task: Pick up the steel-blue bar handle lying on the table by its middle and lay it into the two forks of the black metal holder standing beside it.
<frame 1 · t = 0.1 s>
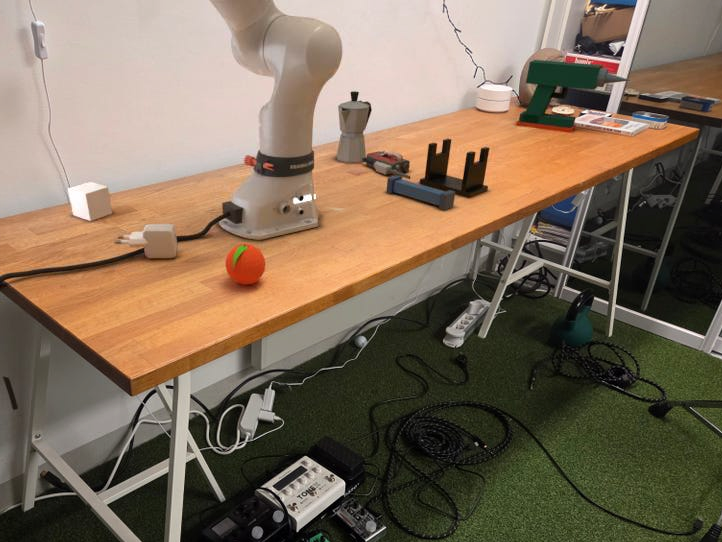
coffee maker: (353, 159, 175), on the table
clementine: (245, 284, 107), on the table
power tool: (565, 129, 208), on the table
handle: (418, 199, 145), on the table
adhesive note: (93, 215, 135), on the table
walkie-talkie: (391, 172, 164), on the table
holder: (452, 187, 153), on the table
power adapter: (148, 256, 117), on the table
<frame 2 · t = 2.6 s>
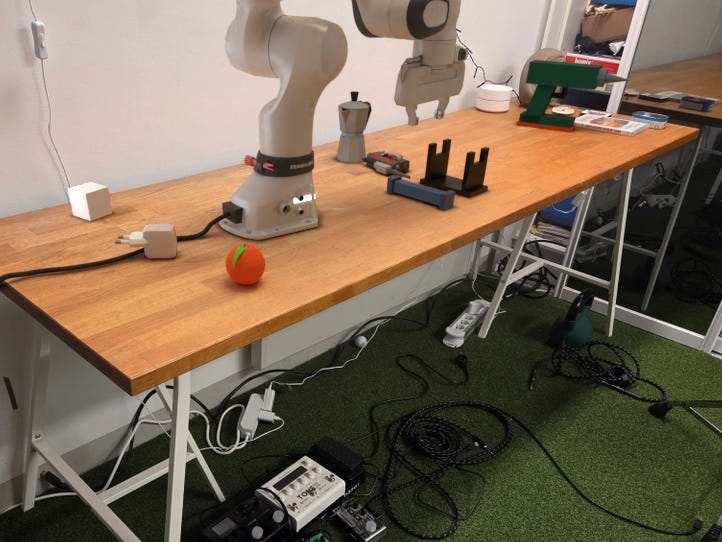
hand: (426, 122, 136), 18 cm above the table, tool pointing down, fingers open, 8 cm apart
nothing on the table moved.
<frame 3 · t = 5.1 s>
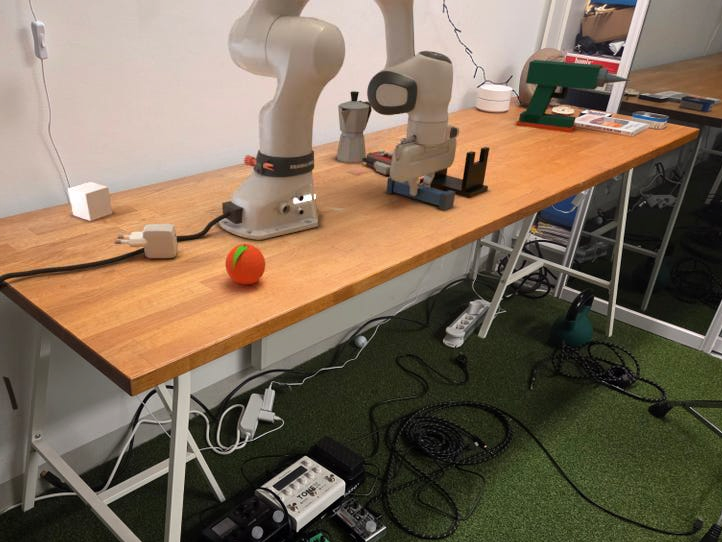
hand: (419, 192, 145), 2 cm above the table, tool pointing down, fingers closed on handle, 2 cm apart
handle: (418, 199, 145), on the table, touching gripper
everything else where it was.
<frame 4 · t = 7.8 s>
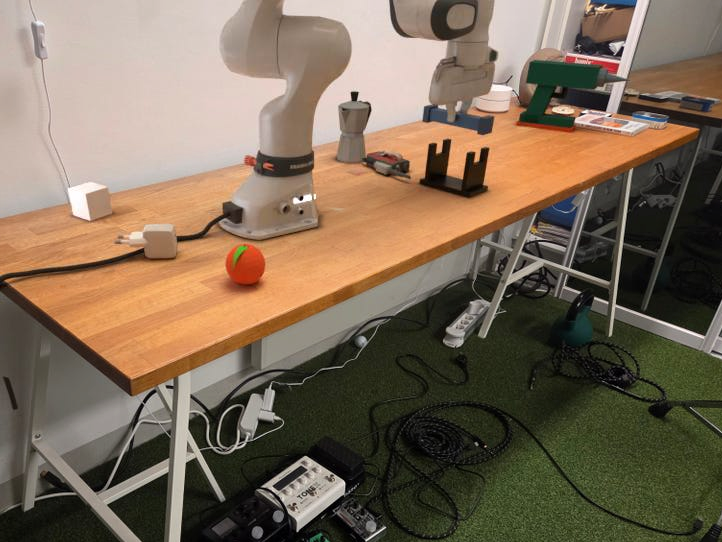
hand: (456, 120, 143), 17 cm above the table, tool pointing down, fingers closed on handle, 2 cm apart
handle: (456, 127, 144), point 15 cm above the table, touching gripper
everything else where it was.
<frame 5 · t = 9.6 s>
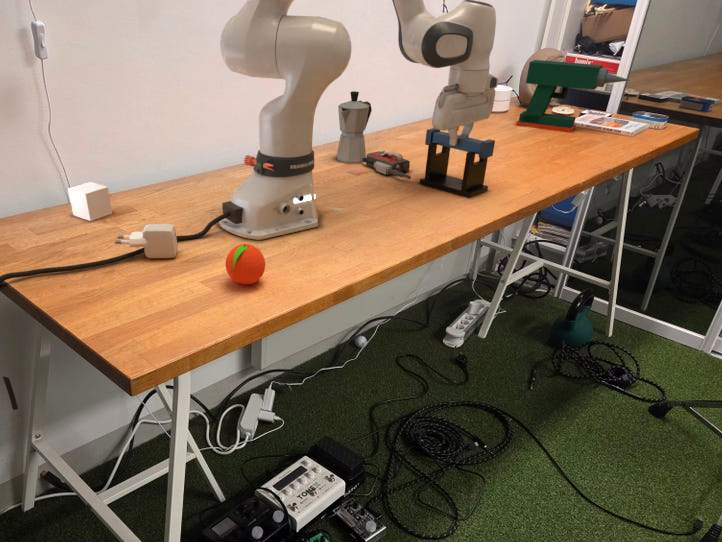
hand: (458, 143, 148), 11 cm above the table, tool pointing down, fingers closed on handle, 2 cm apart
handle: (457, 150, 149), point 9 cm above the table, touching gripper
everything else where it was.
when the fingers open (8 cm above the table, at t = 10.6 s): handle stays where it is, resting on holder.
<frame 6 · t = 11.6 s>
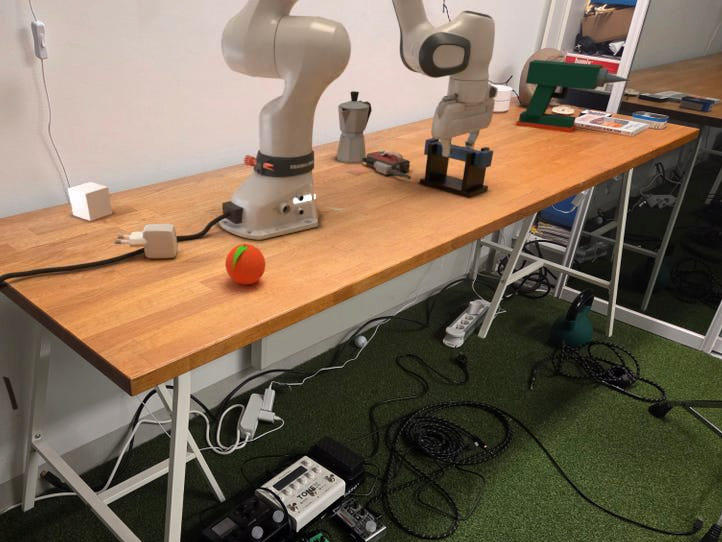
hand: (458, 152, 149), 9 cm above the table, tool pointing down, fingers open, 8 cm apart
handle: (456, 160, 150), point 7 cm above the table, touching holder
everything else where it was.
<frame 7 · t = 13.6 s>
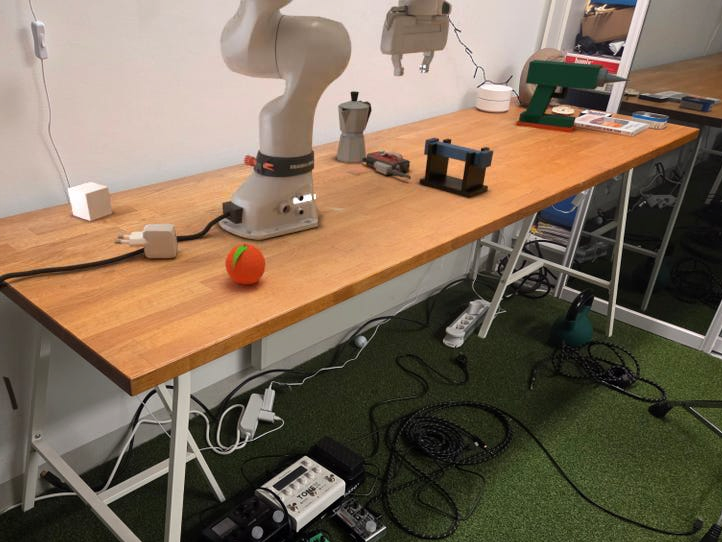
hand: (411, 74, 142), 26 cm above the table, tool pointing down, fingers open, 8 cm apart
nothing on the table moved.
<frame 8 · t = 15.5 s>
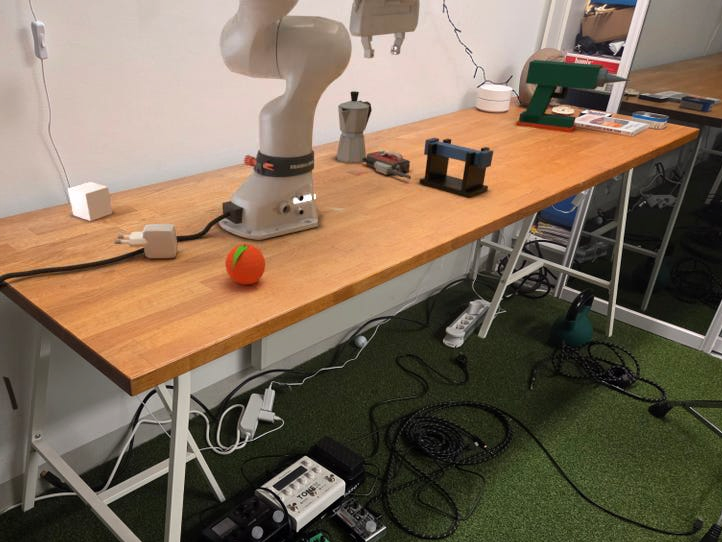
hand: (382, 56, 141), 29 cm above the table, tool pointing down, fingers open, 8 cm apart
nothing on the table moved.
at the end: handle 0.1 cm off-centre on the holder, point 6.7 cm above the holder's base; handle tilted 0°; the gripper is holding nothing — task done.
